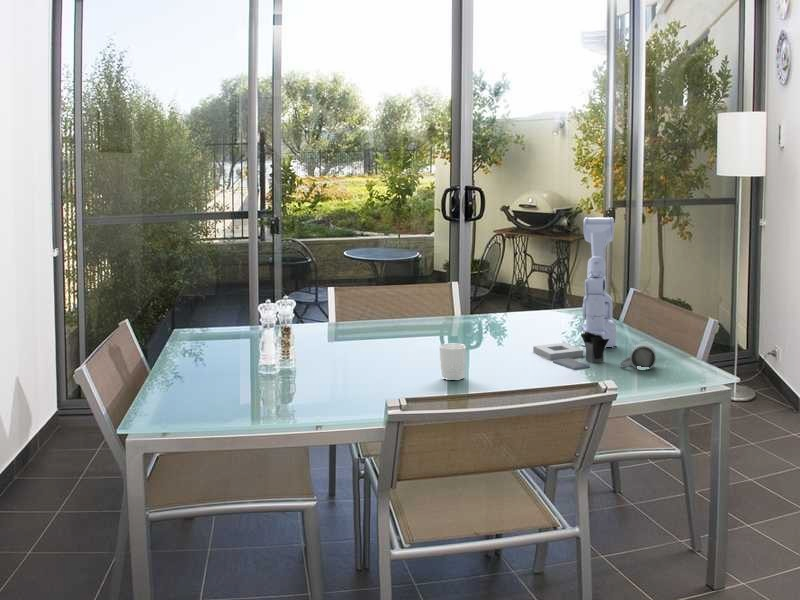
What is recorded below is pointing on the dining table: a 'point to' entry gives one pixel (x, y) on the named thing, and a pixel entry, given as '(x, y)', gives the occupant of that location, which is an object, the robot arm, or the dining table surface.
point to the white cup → (453, 360)
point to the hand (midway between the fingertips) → (594, 356)
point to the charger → (591, 353)
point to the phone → (571, 363)
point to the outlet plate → (558, 351)
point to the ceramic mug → (641, 356)
